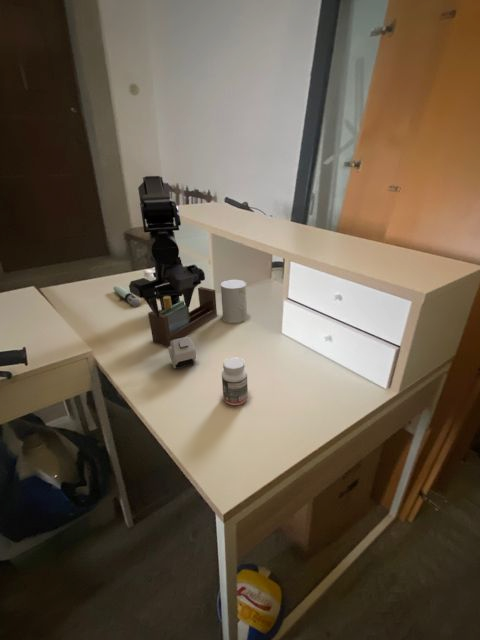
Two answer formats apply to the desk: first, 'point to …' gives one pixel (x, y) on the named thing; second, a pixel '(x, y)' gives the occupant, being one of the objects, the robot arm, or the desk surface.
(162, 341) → the brown book rack
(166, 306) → the sash
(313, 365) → the desk surface
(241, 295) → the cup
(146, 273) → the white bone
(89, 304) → the desk surface
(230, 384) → the pill bottle
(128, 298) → the flashlight
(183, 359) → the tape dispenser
